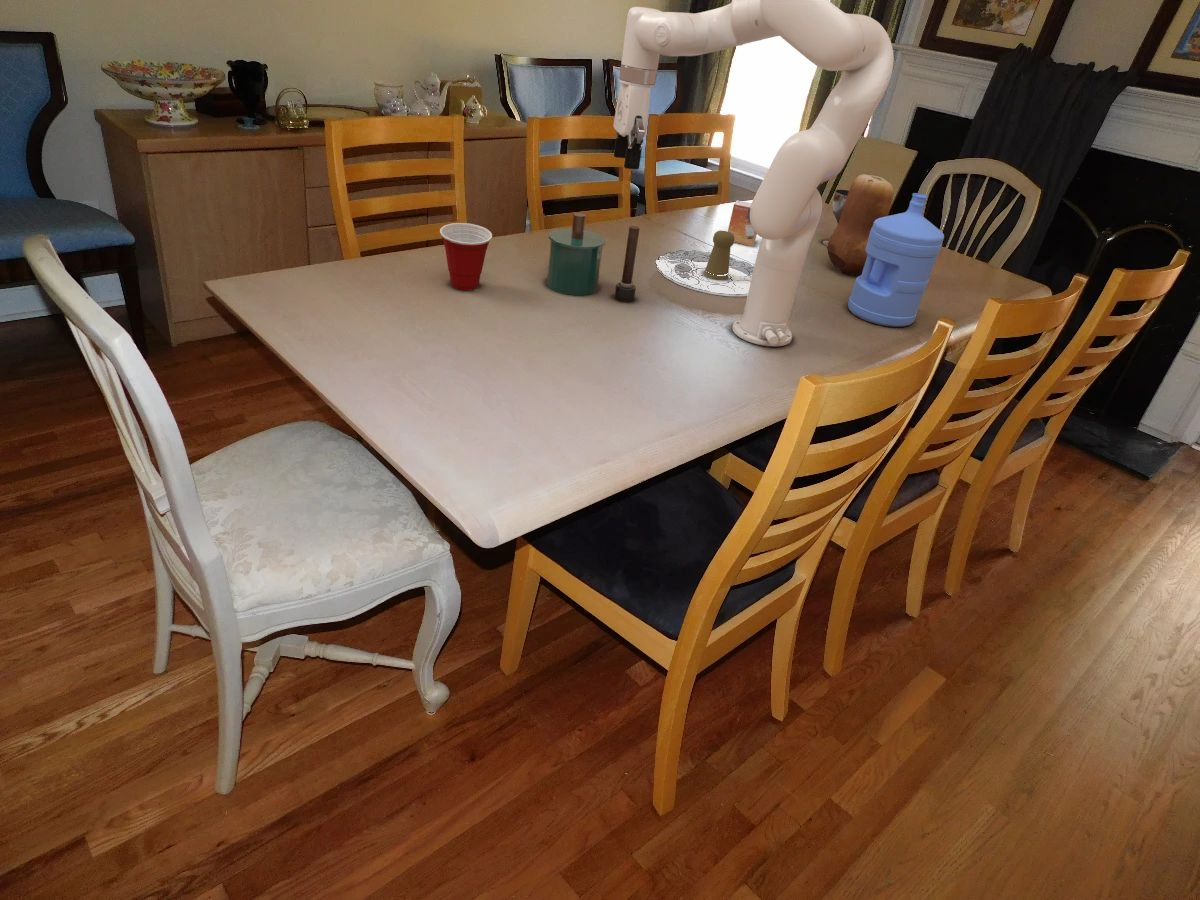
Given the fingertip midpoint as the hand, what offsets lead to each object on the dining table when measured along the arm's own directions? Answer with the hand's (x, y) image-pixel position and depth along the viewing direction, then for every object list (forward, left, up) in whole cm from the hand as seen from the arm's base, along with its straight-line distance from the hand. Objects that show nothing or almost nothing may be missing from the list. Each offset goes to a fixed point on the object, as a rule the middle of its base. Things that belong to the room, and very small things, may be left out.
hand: (625, 162), depth 166 cm
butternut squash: (+17, -68, -27) cm, 75 cm away
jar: (-6, +10, -26) cm, 29 cm away
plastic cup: (-10, +34, -27) cm, 44 cm away
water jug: (-13, -63, -26) cm, 70 cm away
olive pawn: (+7, -28, -27) cm, 39 cm away
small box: (+37, -44, -27) cm, 63 cm away
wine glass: (+41, -75, -27) cm, 89 cm away
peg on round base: (-12, -1, -26) cm, 29 cm away
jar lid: (-6, +10, -16) cm, 20 cm away
